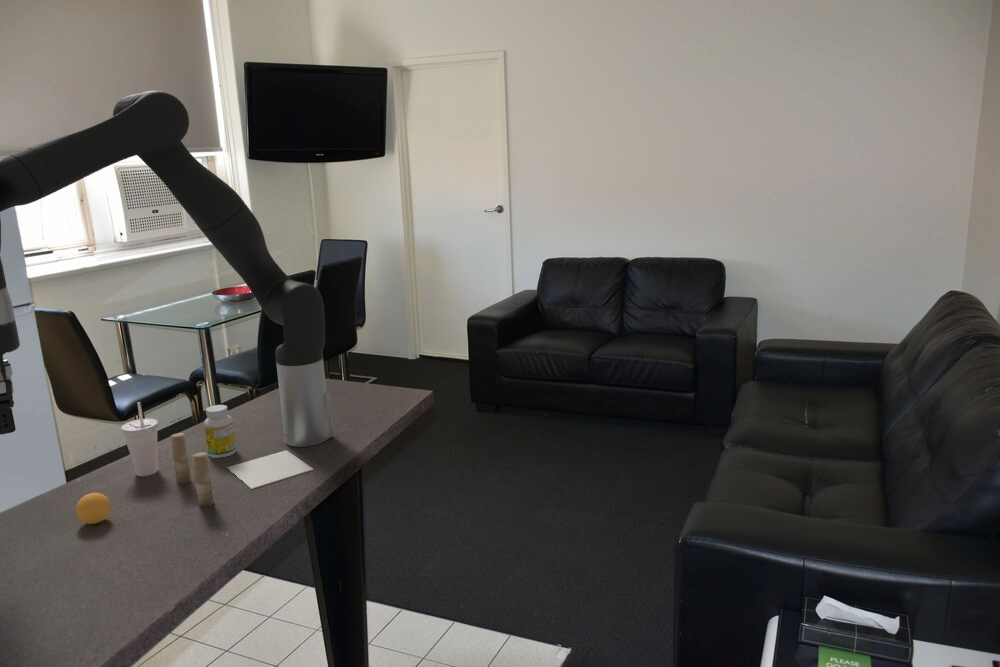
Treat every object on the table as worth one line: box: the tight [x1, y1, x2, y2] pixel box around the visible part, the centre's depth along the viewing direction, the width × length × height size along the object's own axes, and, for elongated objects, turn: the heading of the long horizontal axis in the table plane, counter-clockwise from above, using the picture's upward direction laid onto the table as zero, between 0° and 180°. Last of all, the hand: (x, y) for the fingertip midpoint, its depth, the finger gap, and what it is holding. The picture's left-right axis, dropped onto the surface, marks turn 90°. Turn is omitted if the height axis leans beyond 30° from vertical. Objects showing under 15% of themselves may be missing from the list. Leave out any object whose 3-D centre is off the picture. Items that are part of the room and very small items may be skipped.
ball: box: [75, 492, 112, 525], centre depth 123 cm, size 5×5×5 cm
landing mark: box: [226, 450, 314, 490], centre depth 142 cm, size 12×12×1 cm
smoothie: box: [120, 401, 160, 477], centre depth 141 cm, size 6×6×14 cm
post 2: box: [191, 451, 215, 508], centre depth 128 cm, size 2×2×9 cm
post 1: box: [169, 432, 192, 485], centre depth 137 cm, size 2×2×9 cm
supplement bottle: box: [203, 404, 237, 459], centre depth 149 cm, size 5×5×10 cm
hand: (7, 431), depth 113 cm, fingers closed
